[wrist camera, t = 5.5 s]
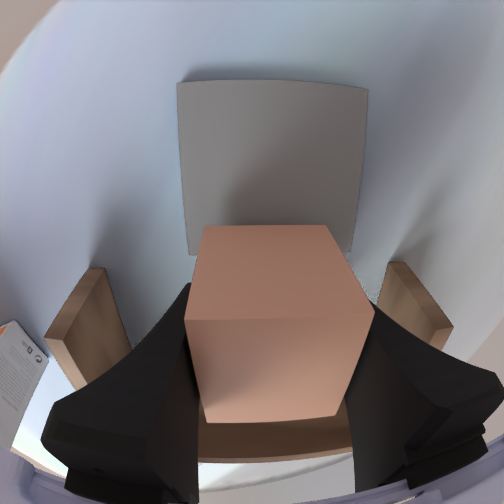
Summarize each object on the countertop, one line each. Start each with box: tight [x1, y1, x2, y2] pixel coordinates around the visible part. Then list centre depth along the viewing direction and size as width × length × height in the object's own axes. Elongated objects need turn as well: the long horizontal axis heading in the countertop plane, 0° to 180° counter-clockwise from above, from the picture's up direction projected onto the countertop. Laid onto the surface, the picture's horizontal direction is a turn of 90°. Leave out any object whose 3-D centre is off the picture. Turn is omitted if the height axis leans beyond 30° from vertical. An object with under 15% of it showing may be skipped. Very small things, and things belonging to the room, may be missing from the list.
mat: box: [177, 79, 368, 255], centre depth 11 cm, size 7×7×1 cm
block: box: [184, 225, 375, 423], centre depth 10 cm, size 5×4×5 cm
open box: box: [44, 262, 454, 463], centre depth 14 cm, size 11×16×5 cm
